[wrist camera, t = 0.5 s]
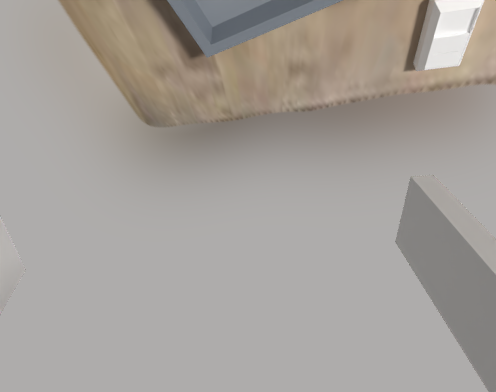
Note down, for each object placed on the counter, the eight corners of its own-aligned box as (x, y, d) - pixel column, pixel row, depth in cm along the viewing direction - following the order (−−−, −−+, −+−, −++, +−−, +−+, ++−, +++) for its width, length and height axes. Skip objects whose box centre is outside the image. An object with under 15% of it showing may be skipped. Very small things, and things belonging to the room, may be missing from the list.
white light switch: (412, 61, 47) (417, 75, 46) (430, -10, 40) (436, 6, 38) (455, 55, 47) (461, 70, 45) (481, -17, 39) (489, -2, 38)
